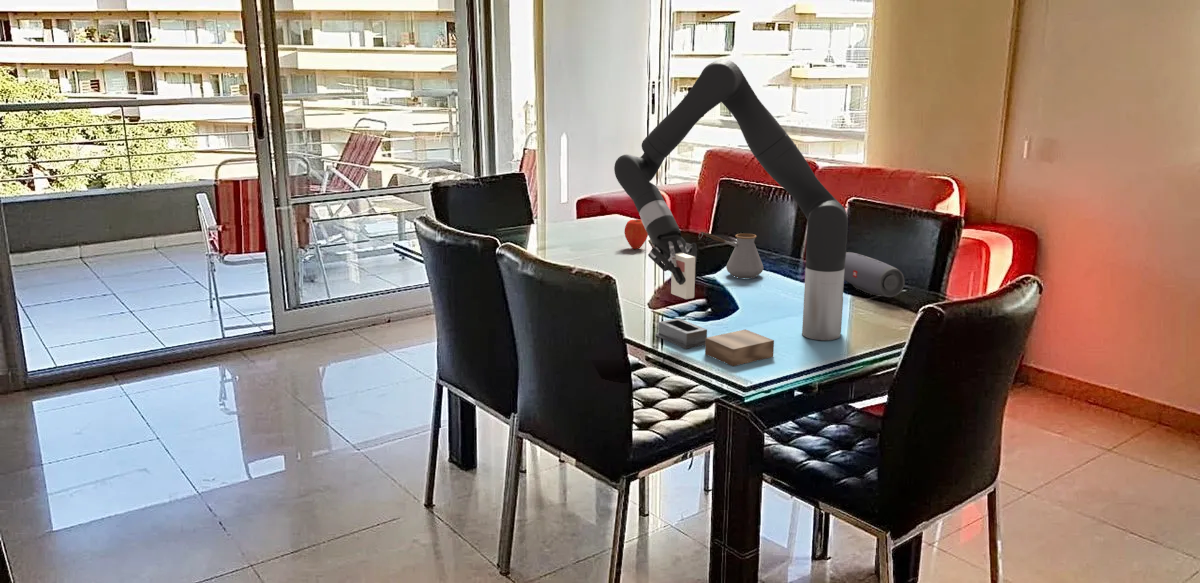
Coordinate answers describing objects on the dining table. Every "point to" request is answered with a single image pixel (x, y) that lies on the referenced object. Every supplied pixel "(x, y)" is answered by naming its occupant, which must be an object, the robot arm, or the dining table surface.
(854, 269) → the bluetooth speaker
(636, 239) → the apple
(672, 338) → the grey box
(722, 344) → the brown wooden block
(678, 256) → the white box
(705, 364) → the dining table surface
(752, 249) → the coffee pot
